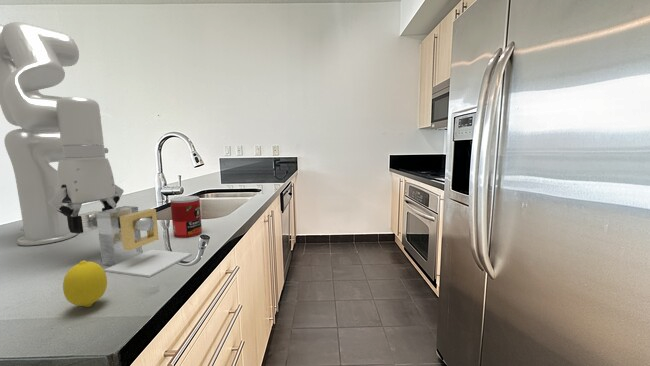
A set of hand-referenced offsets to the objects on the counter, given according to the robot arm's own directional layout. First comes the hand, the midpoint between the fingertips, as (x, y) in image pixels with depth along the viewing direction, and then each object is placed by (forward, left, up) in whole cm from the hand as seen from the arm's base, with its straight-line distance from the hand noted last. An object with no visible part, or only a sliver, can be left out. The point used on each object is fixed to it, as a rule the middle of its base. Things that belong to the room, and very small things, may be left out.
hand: (94, 227), depth 68 cm
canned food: (+9, +20, -8) cm, 23 cm away
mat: (+16, 0, -7) cm, 18 cm away
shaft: (+7, 0, 0) cm, 8 cm away
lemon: (+21, -17, -8) cm, 28 cm away
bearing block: (+8, 0, -7) cm, 11 cm away
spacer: (+14, 0, +1) cm, 14 cm away
